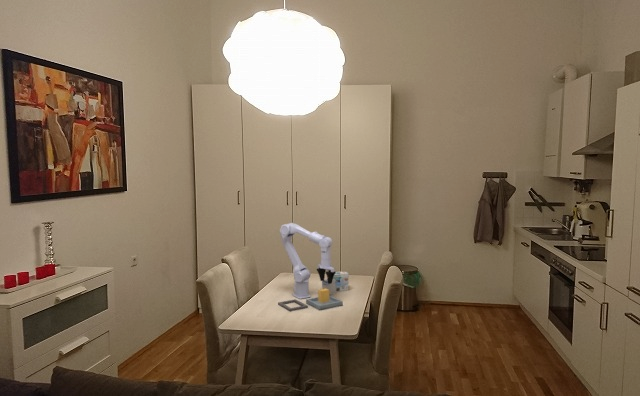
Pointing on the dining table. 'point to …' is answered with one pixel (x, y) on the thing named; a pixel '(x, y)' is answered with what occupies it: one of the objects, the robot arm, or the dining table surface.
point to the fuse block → (323, 296)
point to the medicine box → (329, 286)
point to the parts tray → (332, 303)
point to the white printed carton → (341, 281)
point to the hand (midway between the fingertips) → (326, 282)
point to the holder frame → (302, 306)
